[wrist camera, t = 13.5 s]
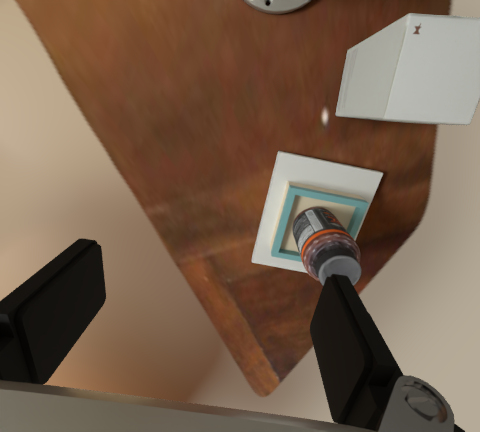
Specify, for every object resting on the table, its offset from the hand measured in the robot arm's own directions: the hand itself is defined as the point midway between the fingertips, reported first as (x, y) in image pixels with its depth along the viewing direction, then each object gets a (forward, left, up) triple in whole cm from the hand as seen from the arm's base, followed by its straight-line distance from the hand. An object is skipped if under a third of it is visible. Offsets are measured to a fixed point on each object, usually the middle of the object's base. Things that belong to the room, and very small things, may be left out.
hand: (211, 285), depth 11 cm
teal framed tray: (+6, +12, -26) cm, 29 cm away
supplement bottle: (+6, +12, -23) cm, 27 cm away
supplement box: (-12, +14, -27) cm, 32 cm away
